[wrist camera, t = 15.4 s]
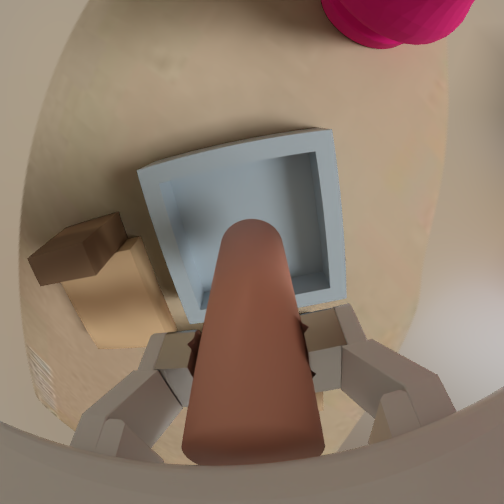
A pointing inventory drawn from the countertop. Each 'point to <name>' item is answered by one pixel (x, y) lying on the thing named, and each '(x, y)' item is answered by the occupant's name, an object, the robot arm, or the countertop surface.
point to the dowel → (252, 360)
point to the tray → (250, 211)
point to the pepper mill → (396, 20)
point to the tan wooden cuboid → (122, 300)
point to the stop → (78, 250)
